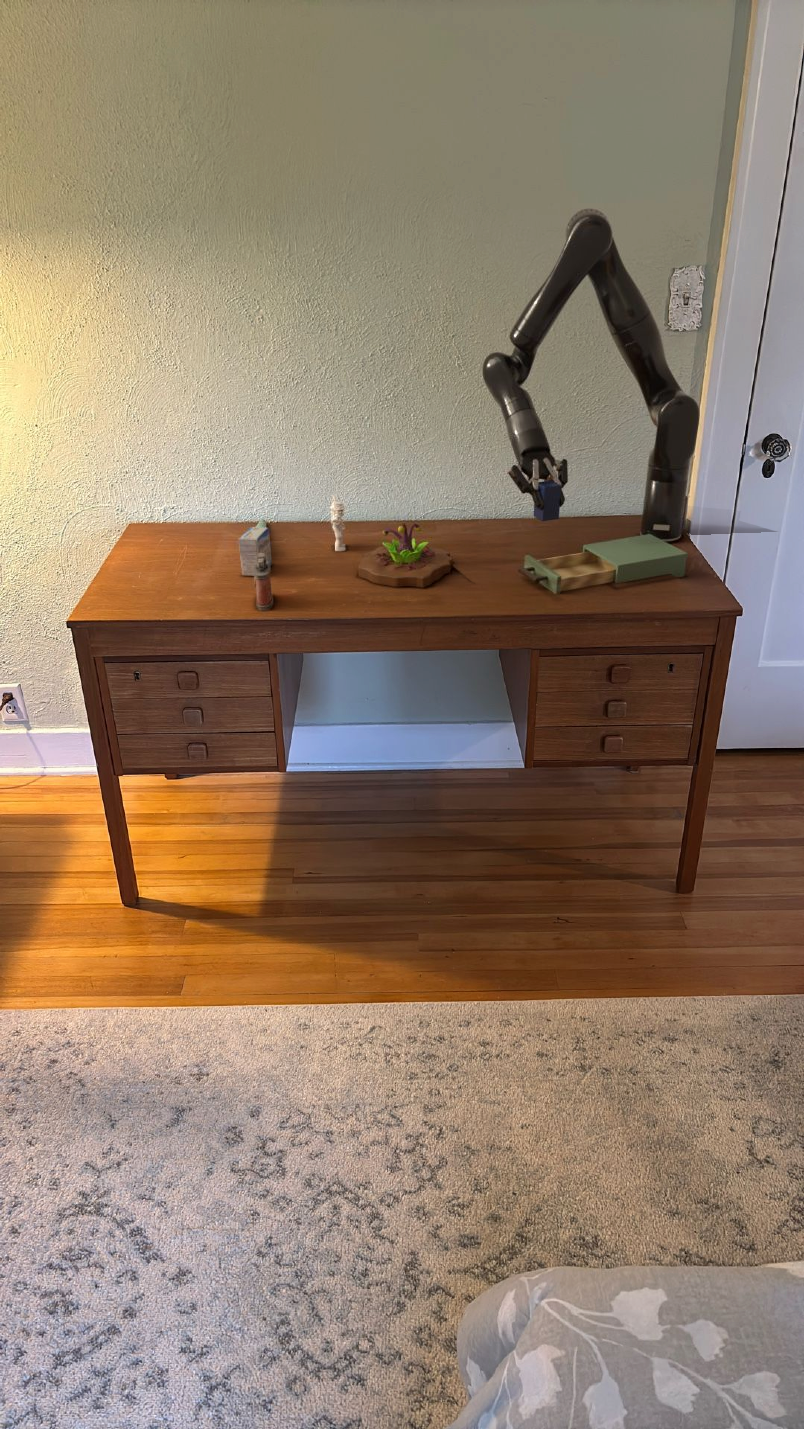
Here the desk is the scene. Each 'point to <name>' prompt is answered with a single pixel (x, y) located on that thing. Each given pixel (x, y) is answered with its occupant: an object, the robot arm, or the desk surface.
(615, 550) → the box
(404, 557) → the plant
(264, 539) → the medicine box
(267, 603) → the lighter
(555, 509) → the tea box
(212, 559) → the desk surface
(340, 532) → the hat wearing toy figure
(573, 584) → the tray
